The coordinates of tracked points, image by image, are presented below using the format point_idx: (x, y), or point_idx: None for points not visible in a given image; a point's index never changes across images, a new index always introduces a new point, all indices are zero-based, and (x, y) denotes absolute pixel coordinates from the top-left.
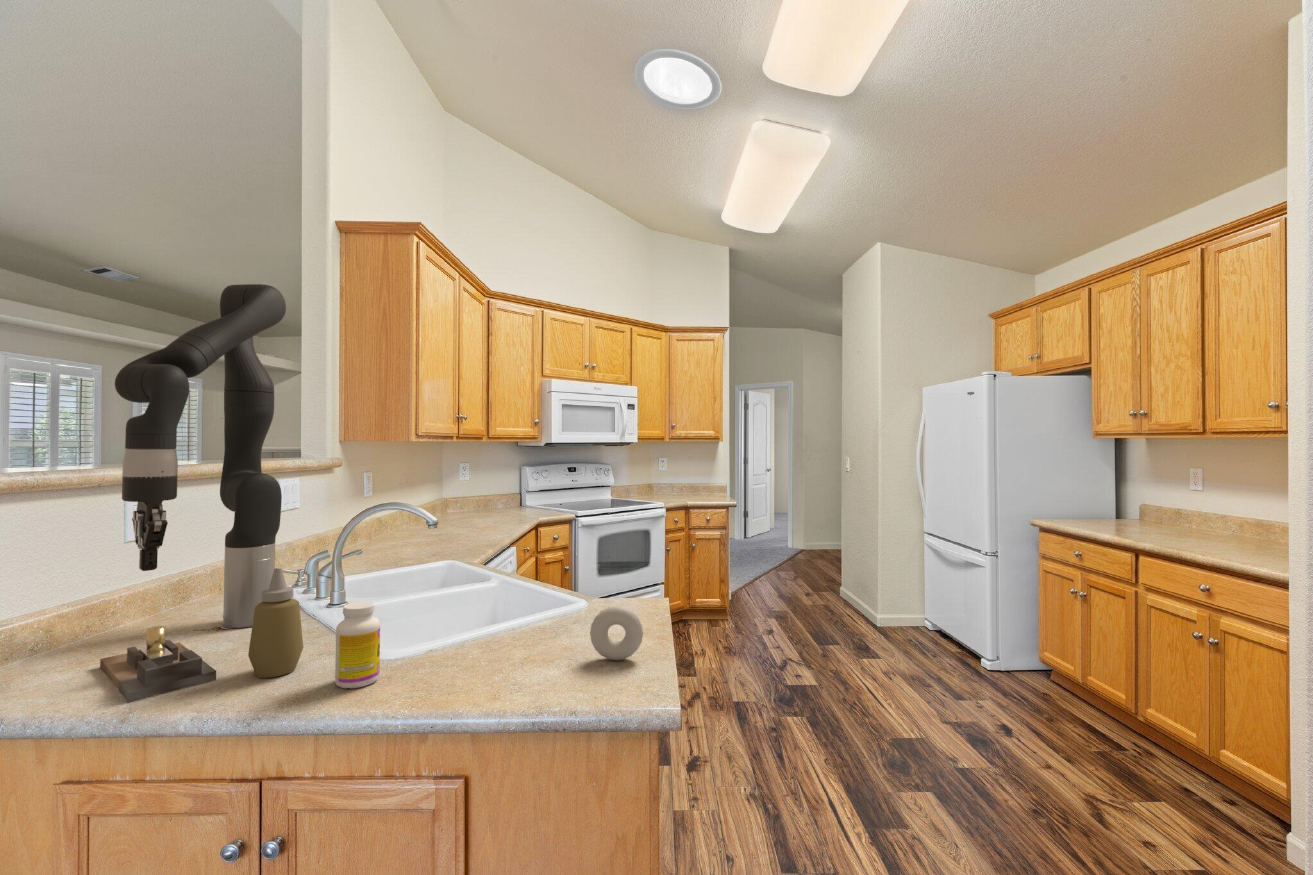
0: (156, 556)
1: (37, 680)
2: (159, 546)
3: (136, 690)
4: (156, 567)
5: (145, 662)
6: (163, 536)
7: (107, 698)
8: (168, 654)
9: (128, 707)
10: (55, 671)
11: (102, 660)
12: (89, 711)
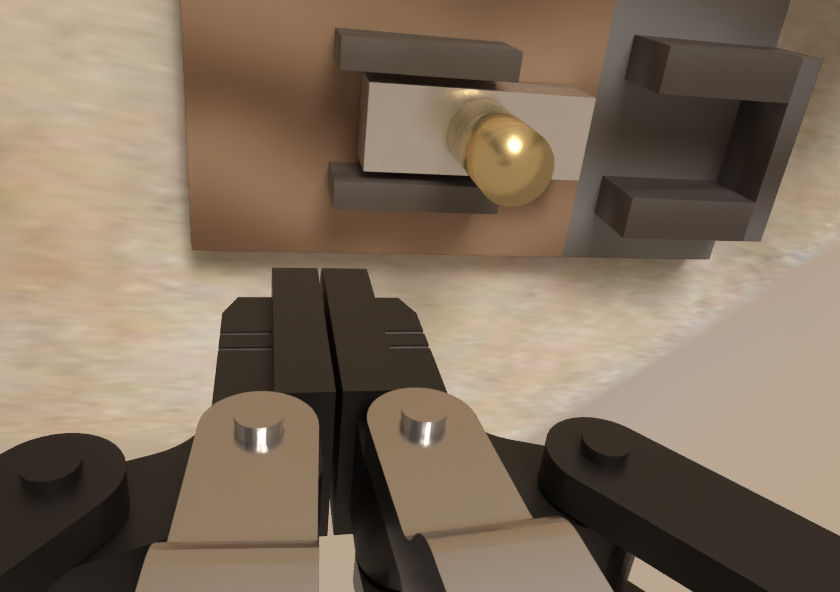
0: (382, 340)
1: (192, 391)
2: (423, 396)
3: (712, 241)
4: (364, 273)
5: (659, 220)
6: (836, 542)
7: (595, 278)
8: (582, 112)
9: (728, 254)
10: (112, 345)
11: (229, 248)
12: (656, 325)
